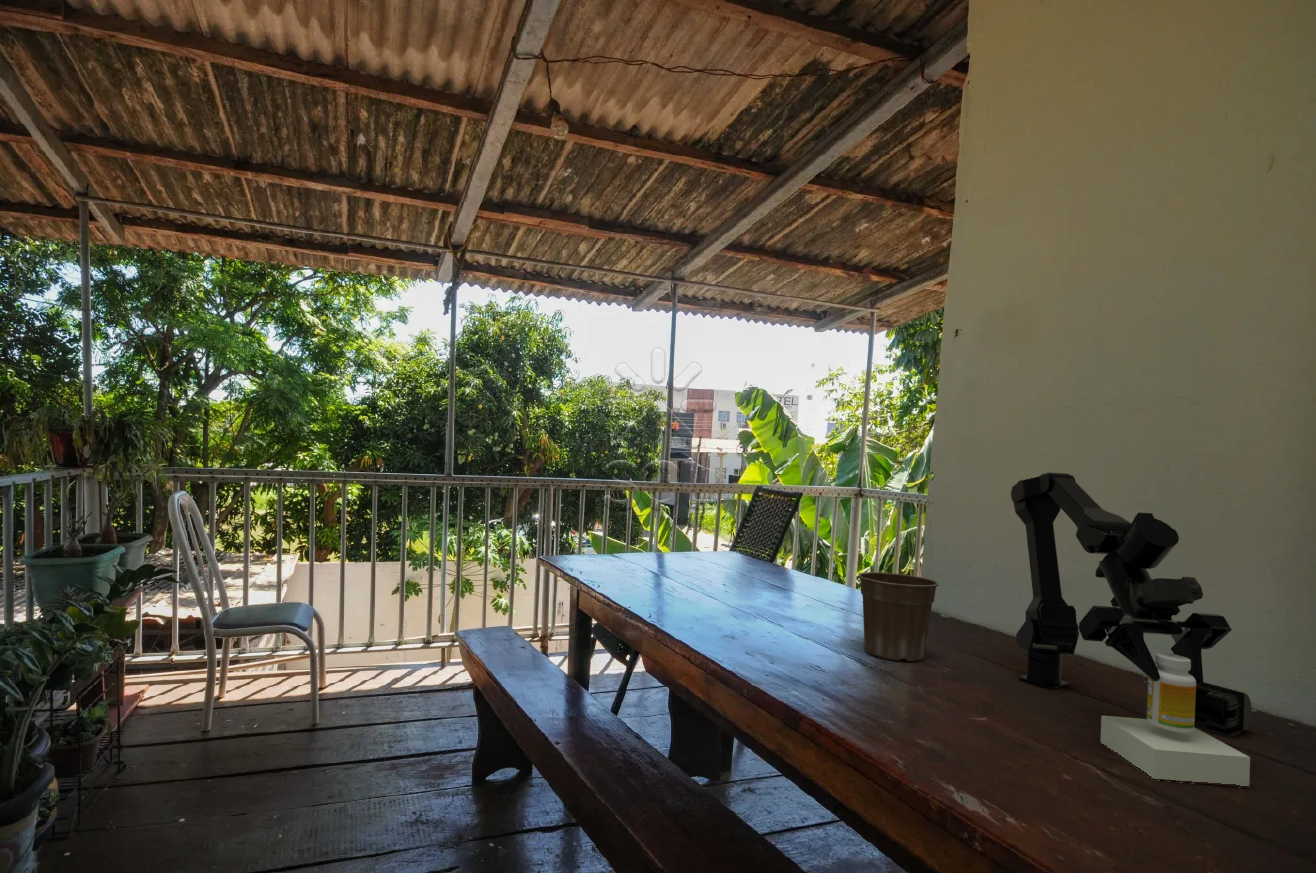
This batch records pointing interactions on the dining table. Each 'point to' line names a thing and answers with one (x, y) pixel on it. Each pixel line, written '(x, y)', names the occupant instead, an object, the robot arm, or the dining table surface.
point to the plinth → (1174, 752)
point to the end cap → (1221, 710)
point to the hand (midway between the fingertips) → (1178, 681)
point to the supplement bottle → (1172, 694)
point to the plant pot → (896, 614)
